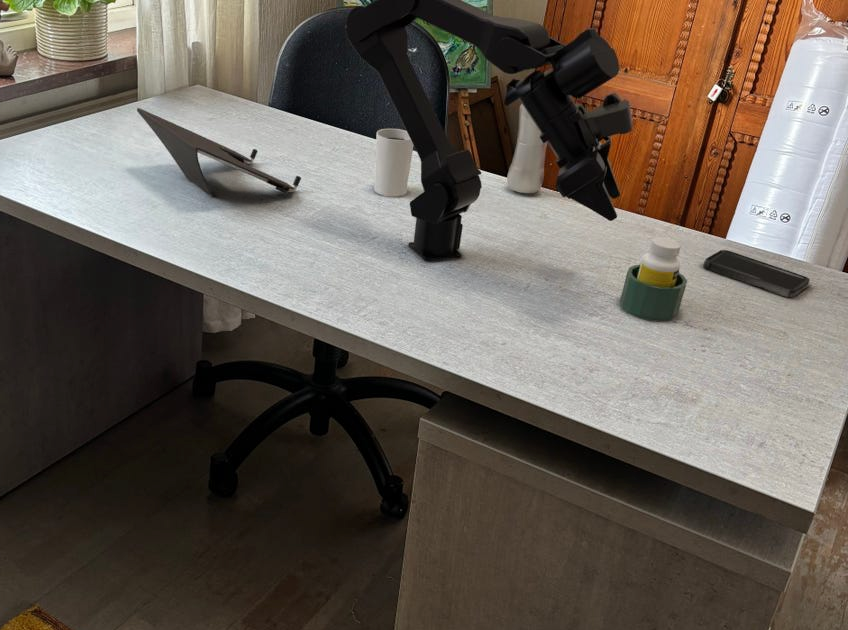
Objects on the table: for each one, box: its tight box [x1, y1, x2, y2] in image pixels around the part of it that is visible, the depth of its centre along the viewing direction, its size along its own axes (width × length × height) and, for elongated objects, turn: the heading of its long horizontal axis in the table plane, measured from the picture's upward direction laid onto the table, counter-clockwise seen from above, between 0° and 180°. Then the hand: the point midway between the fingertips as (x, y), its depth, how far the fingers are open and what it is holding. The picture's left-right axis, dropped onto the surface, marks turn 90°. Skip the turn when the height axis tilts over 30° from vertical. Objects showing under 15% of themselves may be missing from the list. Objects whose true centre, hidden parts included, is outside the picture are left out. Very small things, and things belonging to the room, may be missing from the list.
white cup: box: [373, 128, 414, 198], centre depth 172 cm, size 7×7×10 cm
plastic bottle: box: [506, 103, 548, 194], centre depth 174 cm, size 6×7×20 cm
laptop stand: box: [136, 107, 302, 197], centre depth 168 cm, size 23×23×9 cm
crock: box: [619, 264, 688, 322], centre depth 141 cm, size 8×8×5 cm
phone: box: [703, 249, 811, 298], centre depth 155 cm, size 8×1×15 cm
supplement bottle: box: [637, 236, 682, 287], centre depth 139 cm, size 5×5×10 cm
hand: (615, 207), depth 137 cm, fingers open, 9 cm apart
